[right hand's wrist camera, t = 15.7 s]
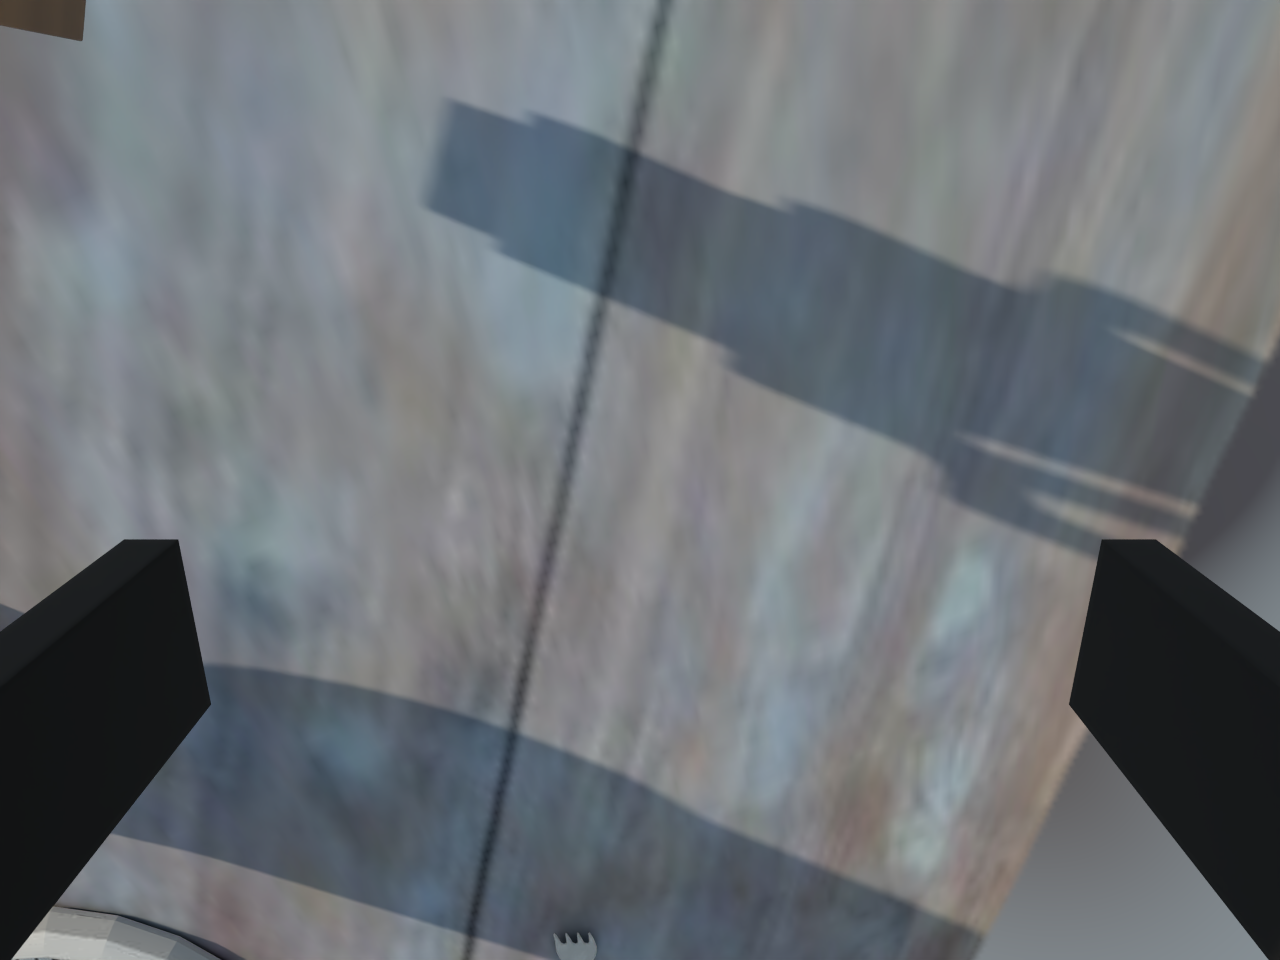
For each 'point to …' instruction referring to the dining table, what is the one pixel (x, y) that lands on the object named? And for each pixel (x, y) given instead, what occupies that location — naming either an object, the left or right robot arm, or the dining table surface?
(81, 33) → the bar
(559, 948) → the fork
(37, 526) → the dining table surface
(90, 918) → the wall clock
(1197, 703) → the right robot arm
